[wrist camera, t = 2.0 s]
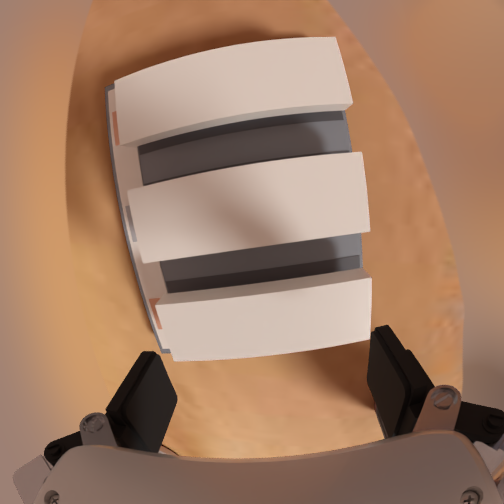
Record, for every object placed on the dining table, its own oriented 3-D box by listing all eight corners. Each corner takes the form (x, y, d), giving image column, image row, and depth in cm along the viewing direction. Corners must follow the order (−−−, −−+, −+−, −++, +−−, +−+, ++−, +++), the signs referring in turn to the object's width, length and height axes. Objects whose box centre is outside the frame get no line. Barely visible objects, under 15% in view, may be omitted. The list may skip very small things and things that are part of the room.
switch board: (356, 321, 19) (363, 333, 18) (167, 342, 21) (160, 354, 19) (322, 48, 14) (327, 38, 13) (115, 92, 16) (103, 86, 14)
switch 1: (344, 110, 13) (353, 103, 11) (133, 147, 14) (119, 145, 12) (329, 48, 12) (335, 37, 10) (127, 87, 13) (114, 80, 11)
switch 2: (362, 325, 16) (369, 339, 15) (180, 347, 17) (174, 361, 16) (362, 267, 15) (371, 277, 14) (164, 293, 16) (154, 305, 15)
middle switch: (360, 225, 14) (370, 231, 13) (153, 255, 16) (142, 263, 14) (352, 153, 13) (361, 152, 12) (139, 188, 15) (126, 190, 13)
